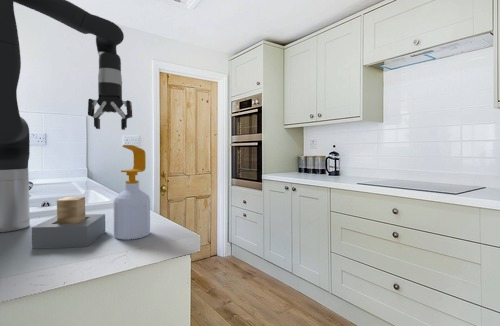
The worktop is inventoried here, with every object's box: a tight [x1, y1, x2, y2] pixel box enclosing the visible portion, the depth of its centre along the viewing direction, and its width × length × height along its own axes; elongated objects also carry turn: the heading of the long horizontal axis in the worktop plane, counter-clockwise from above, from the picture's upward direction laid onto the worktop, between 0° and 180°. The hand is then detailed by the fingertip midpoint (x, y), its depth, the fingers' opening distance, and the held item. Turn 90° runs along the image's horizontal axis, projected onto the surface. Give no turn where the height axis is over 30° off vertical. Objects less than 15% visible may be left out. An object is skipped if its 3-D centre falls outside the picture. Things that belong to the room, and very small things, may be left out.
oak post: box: [56, 196, 86, 224], centre depth 71 cm, size 5×5×10 cm
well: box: [31, 213, 106, 250], centre depth 72 cm, size 12×12×5 cm
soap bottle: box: [113, 144, 151, 241], centre depth 75 cm, size 9×9×25 cm
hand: (110, 129), depth 100 cm, fingers open, 8 cm apart
